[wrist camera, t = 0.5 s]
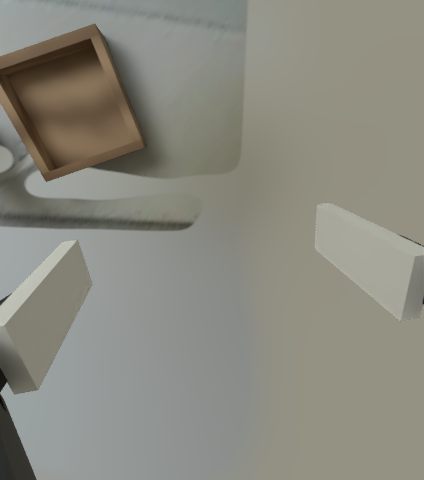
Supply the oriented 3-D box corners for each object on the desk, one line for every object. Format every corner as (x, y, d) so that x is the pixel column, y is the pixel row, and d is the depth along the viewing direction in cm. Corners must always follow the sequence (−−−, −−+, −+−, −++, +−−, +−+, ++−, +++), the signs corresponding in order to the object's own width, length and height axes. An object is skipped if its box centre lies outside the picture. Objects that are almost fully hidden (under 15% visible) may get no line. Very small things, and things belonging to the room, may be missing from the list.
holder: (-2, 70, 31) (-22, 64, 28) (102, 34, 31) (94, 23, 28) (57, 177, 36) (46, 181, 33) (147, 146, 36) (144, 147, 33)
